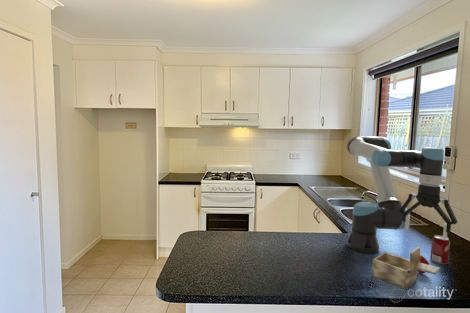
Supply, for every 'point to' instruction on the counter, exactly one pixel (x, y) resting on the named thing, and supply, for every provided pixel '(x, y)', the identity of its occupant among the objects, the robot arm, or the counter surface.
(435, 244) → the soda can
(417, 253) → the lid
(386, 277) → the wooden box
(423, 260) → the onion
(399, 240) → the counter surface
